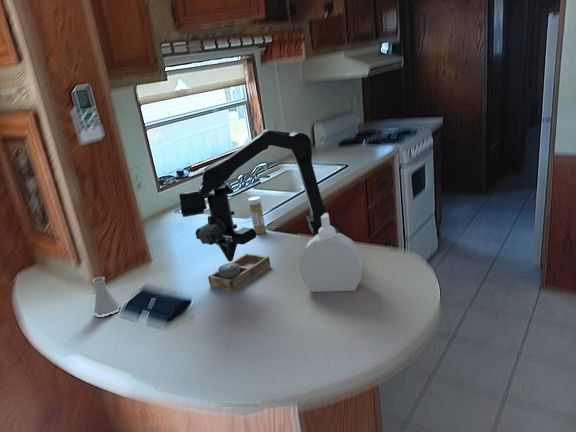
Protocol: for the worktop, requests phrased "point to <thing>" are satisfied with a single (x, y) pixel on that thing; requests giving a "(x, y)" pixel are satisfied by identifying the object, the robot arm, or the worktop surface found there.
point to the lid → (229, 270)
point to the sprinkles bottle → (257, 214)
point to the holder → (241, 272)
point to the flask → (104, 298)
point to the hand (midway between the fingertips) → (230, 261)
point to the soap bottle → (331, 261)
